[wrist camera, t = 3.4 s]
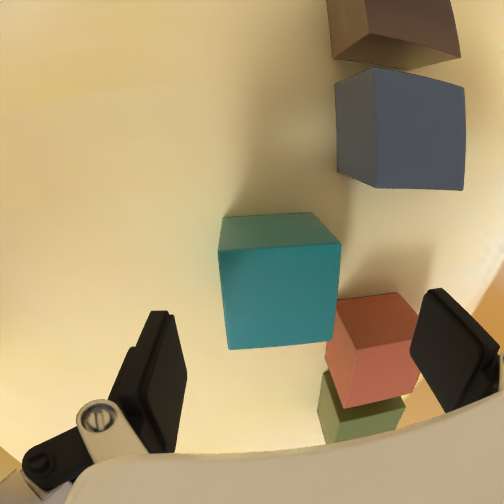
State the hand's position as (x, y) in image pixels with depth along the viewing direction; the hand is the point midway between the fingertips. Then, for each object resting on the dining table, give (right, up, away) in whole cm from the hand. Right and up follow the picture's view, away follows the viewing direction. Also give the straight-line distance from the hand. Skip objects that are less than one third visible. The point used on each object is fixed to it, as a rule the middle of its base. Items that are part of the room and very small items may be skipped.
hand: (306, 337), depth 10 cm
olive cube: (+6, -8, +12) cm, 16 cm away
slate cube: (+5, +10, +5) cm, 12 cm away
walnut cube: (+5, +16, +2) cm, 17 cm away
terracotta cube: (+6, -2, +10) cm, 11 cm away
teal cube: (-1, +3, +7) cm, 8 cm away
